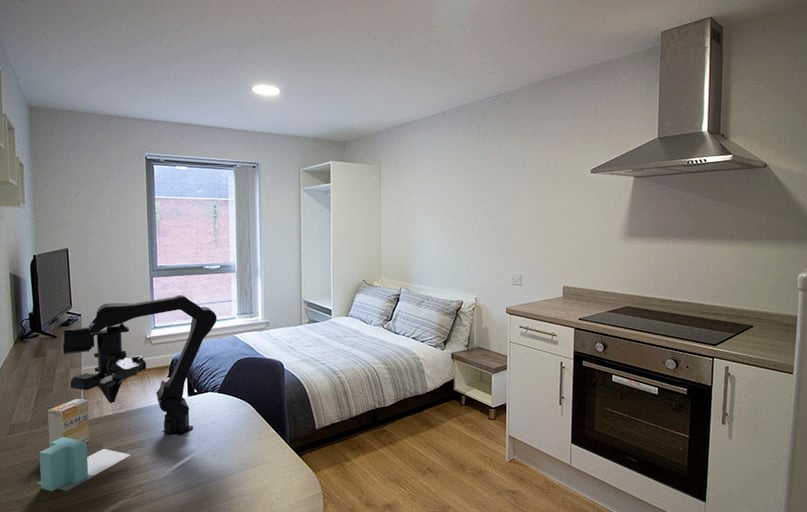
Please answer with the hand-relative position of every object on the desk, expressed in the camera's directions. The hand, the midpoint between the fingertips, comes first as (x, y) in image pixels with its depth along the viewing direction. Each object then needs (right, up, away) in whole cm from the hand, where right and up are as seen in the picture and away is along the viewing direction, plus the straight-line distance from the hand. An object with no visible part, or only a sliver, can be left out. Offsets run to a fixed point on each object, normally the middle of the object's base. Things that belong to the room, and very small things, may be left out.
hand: (111, 402), depth 124 cm
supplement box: (-11, -13, -1) cm, 17 cm away
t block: (-1, -14, -17) cm, 22 cm away
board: (+1, -14, -11) cm, 18 cm away
